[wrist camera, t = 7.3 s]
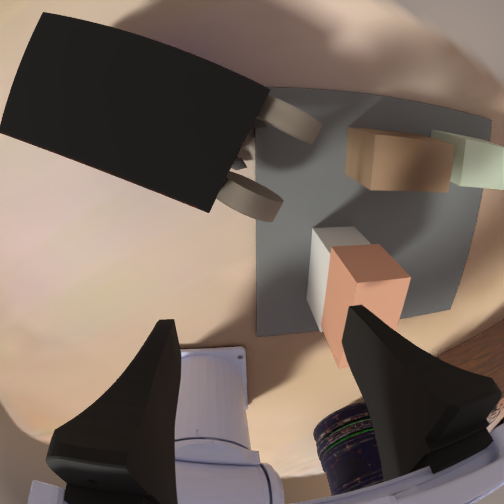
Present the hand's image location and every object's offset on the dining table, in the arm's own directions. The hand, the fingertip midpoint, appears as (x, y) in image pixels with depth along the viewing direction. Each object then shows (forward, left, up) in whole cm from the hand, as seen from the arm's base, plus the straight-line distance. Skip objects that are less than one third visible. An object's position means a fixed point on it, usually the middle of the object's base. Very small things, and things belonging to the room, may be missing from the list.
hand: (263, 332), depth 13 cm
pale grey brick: (-3, -6, -10) cm, 12 cm away
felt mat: (0, -11, -10) cm, 15 cm away
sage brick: (+6, -17, -10) cm, 21 cm away
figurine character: (+8, +4, -10) cm, 14 cm away
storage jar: (-27, -13, -11) cm, 32 cm away
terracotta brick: (-2, -6, -6) cm, 9 cm away
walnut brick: (+6, -10, -10) cm, 15 cm away
